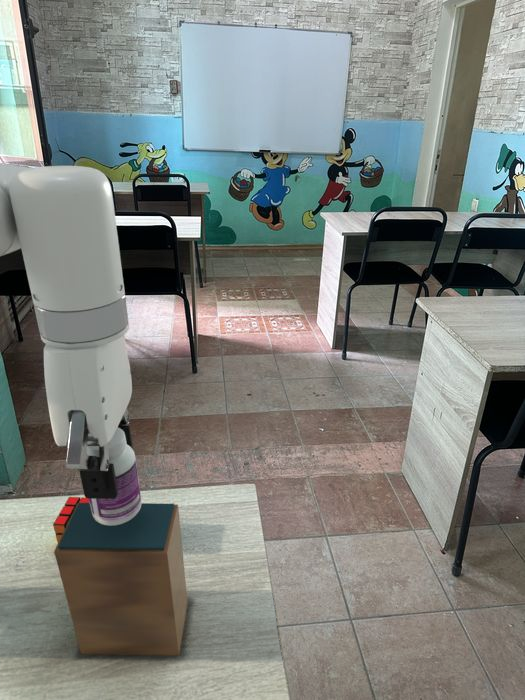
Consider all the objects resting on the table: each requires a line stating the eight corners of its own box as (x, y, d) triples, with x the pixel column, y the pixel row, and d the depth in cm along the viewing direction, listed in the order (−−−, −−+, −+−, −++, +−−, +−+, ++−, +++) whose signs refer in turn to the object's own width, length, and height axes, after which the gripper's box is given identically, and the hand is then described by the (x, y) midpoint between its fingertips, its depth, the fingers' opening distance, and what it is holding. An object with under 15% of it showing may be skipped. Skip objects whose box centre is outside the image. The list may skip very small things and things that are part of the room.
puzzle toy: (96, 554, 72) (90, 526, 70) (59, 552, 72) (52, 524, 70) (109, 525, 77) (104, 498, 75) (75, 523, 77) (69, 496, 75)
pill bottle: (152, 500, 54) (143, 429, 49) (120, 534, 49) (108, 460, 45) (114, 486, 56) (102, 417, 51) (80, 517, 51) (64, 444, 47)
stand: (81, 655, 59) (53, 551, 51) (99, 603, 65) (77, 503, 57) (179, 656, 59) (167, 552, 51) (187, 604, 65) (178, 504, 57)
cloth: (58, 549, 51) (57, 546, 51) (79, 504, 57) (79, 502, 56) (163, 550, 51) (163, 547, 51) (174, 506, 57) (174, 503, 56)
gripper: (76, 284, 50) (100, 427, 58) (-9, 360, 35) (41, 540, 43) (147, 285, 50) (162, 427, 58) (94, 361, 35) (124, 541, 43)
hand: (110, 474), depth 50 cm, fingers closed on pill bottle, 5 cm apart
